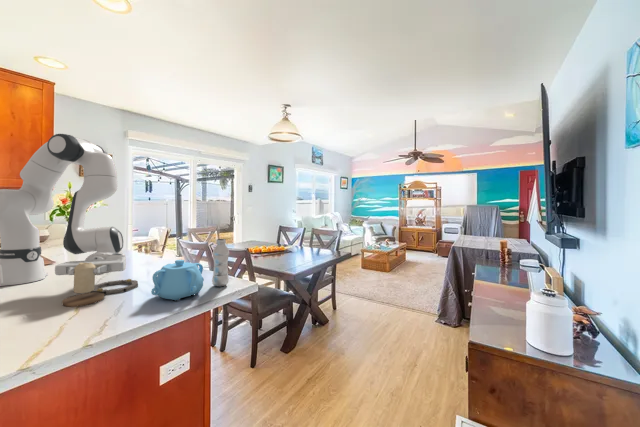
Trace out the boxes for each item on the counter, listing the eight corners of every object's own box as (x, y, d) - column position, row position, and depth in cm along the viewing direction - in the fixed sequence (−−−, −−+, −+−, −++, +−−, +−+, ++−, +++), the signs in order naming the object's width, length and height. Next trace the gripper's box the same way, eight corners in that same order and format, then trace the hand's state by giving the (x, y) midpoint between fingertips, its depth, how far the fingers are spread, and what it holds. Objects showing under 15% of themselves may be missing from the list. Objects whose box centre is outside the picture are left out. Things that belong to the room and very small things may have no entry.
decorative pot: (166, 289, 108) (166, 256, 108) (207, 288, 110) (207, 255, 110) (145, 304, 92) (145, 265, 92) (194, 302, 94) (194, 264, 94)
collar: (80, 292, 101) (80, 288, 101) (115, 281, 116) (115, 277, 116) (114, 295, 99) (114, 291, 99) (146, 284, 114) (146, 279, 114)
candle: (97, 287, 97) (98, 260, 97) (90, 292, 92) (91, 264, 92) (77, 288, 95) (79, 261, 95) (70, 293, 90) (71, 264, 90)
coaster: (53, 305, 89) (53, 302, 89) (86, 294, 100) (86, 291, 100) (81, 308, 87) (81, 304, 87) (112, 296, 98) (112, 293, 98)
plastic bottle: (211, 284, 115) (212, 238, 115) (228, 282, 118) (228, 238, 117) (212, 289, 109) (212, 240, 109) (229, 287, 112) (230, 240, 112)
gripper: (65, 256, 101) (44, 265, 88) (129, 253, 109) (118, 261, 96) (66, 273, 101) (44, 283, 89) (129, 269, 109) (118, 278, 96)
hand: (83, 271), depth 92 cm, fingers closed on candle, 5 cm apart
